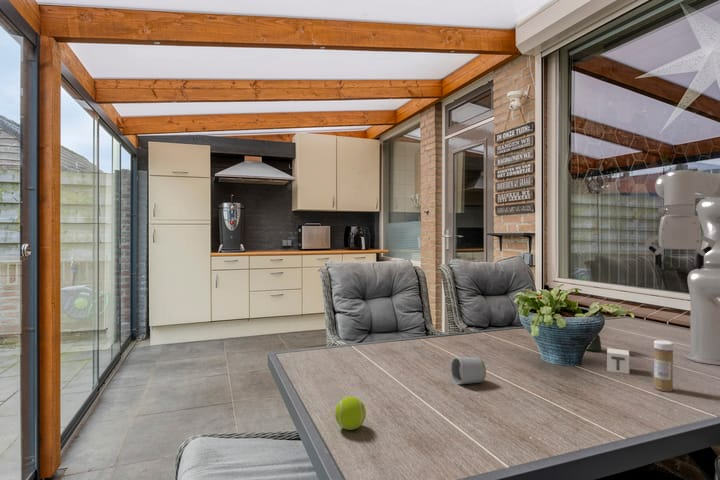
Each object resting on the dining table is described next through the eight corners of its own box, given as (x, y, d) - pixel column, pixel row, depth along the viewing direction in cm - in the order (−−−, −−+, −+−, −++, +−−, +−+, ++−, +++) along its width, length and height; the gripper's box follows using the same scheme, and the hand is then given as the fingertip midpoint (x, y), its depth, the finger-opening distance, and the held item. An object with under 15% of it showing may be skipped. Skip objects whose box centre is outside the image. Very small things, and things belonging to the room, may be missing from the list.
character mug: (592, 346, 166) (592, 312, 166) (610, 350, 160) (610, 315, 160) (573, 349, 162) (573, 315, 161) (590, 354, 155) (590, 318, 155)
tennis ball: (335, 436, 94) (334, 404, 94) (335, 421, 101) (335, 392, 101) (366, 435, 94) (366, 403, 94) (364, 421, 101) (364, 391, 101)
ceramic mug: (487, 385, 124) (487, 359, 124) (462, 388, 122) (462, 361, 122) (469, 374, 134) (469, 350, 134) (445, 376, 132) (445, 352, 132)
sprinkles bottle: (675, 390, 120) (676, 342, 120) (669, 393, 117) (669, 344, 117) (657, 385, 124) (657, 338, 123) (650, 388, 121) (650, 341, 121)
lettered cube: (607, 366, 142) (607, 348, 142) (628, 369, 139) (628, 350, 139) (606, 371, 136) (607, 352, 136) (629, 374, 133) (629, 355, 133)
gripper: (645, 212, 130) (645, 268, 131) (718, 210, 122) (718, 270, 122) (644, 212, 137) (643, 266, 137) (713, 211, 128) (712, 268, 128)
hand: (678, 268), depth 129 cm, fingers open, 9 cm apart
